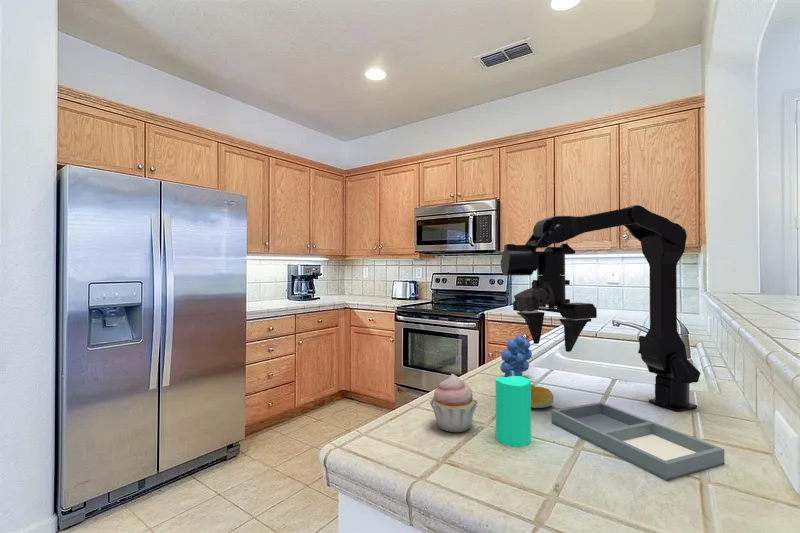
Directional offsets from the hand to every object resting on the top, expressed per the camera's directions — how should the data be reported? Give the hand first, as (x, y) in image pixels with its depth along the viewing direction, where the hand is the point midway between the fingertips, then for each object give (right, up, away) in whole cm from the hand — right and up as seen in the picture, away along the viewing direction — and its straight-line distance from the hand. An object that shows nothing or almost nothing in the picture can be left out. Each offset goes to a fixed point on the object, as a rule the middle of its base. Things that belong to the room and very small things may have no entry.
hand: (551, 347), depth 83 cm
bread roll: (0, -14, +2) cm, 14 cm away
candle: (-13, -13, -15) cm, 24 cm away
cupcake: (-23, -13, -9) cm, 28 cm away
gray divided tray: (+7, -13, -16) cm, 22 cm away
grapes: (-1, -14, +23) cm, 26 cm away
